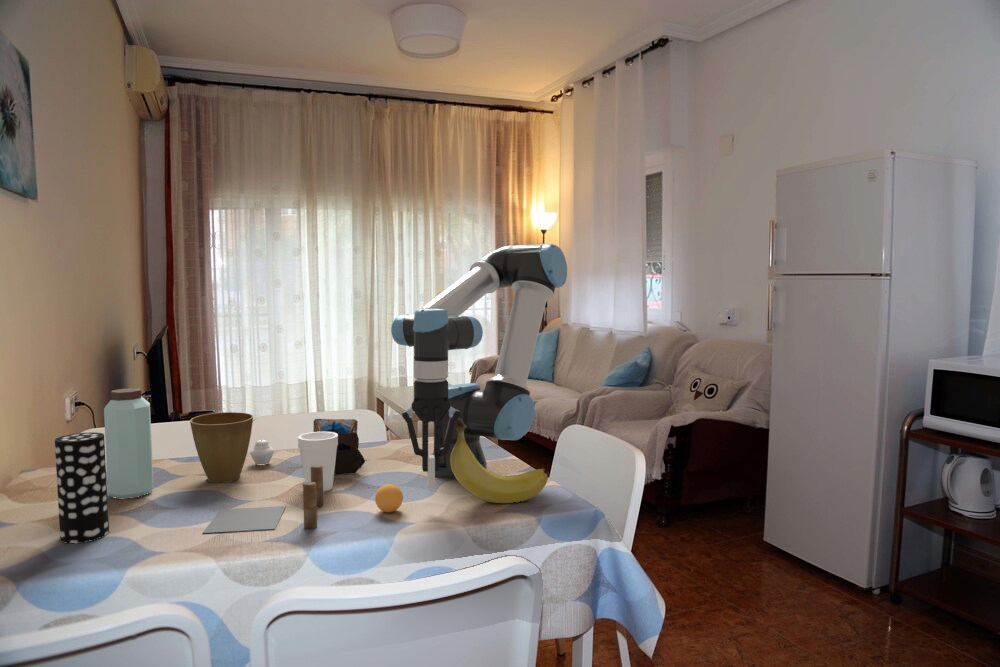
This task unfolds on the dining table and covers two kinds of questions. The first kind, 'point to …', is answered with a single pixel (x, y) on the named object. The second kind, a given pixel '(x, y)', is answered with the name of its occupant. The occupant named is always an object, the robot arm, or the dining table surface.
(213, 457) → the plant pot
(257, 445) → the white lidded jar
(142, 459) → the water bottle
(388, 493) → the ball
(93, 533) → the spotted tube
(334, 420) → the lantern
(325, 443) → the foam cup
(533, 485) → the banana
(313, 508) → the post
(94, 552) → the dining table surface
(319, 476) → the post
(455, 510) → the dining table surface
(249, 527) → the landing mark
